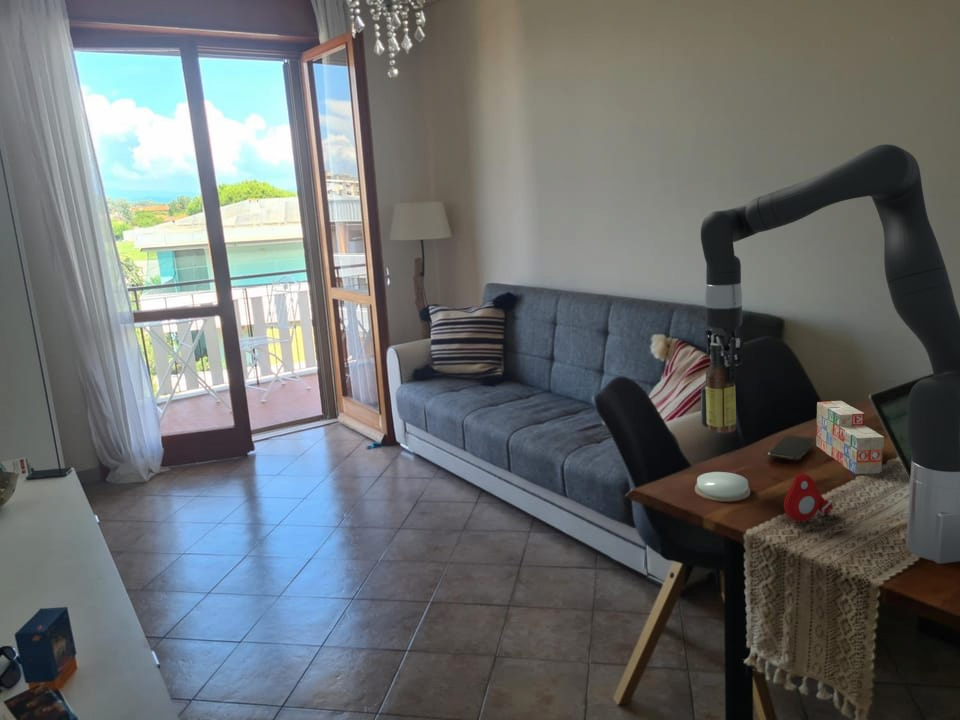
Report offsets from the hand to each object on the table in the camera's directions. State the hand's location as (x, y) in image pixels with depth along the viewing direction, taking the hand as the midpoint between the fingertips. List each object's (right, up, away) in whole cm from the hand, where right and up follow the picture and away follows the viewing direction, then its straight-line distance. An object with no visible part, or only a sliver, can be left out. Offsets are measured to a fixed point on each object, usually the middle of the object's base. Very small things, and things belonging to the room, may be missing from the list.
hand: (723, 379), depth 157 cm
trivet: (+2, -26, +6) cm, 26 cm away
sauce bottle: (0, -12, +2) cm, 12 cm away
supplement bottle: (+1, -11, +8) cm, 13 cm away
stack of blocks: (+37, -21, +20) cm, 47 cm away
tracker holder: (+14, -29, -11) cm, 34 cm away
